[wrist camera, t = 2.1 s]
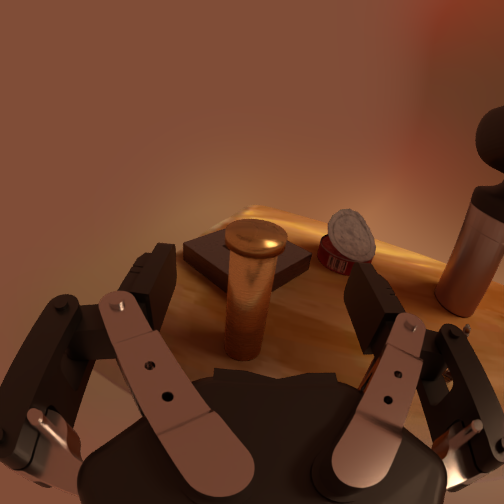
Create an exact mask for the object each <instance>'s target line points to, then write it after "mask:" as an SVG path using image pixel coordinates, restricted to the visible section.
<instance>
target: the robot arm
mask: <svg viewBox="0 0 504 504" xmlns="http://www.w3.org/2000/svg"><path fill="white" fill-rule="evenodd" d="M475 141H476V148H477V151H478V154H479V156H480V158H481V159H482V160H483V161H484V162H485V163H486V164H488V165H489V166H491V167H492V168H494V169H496V170H498V171H500V172H502V173H504V106H502V107H498V108H495V109H492V110H491V111H489V112H488V113H487V114H486V115H485V116H484V117H483V118H482V120H481V121H480V123H479V125H478V128H477V132H476V140H475ZM503 255H504V180H503V182H502V183H500V184H498V185H495V186H478V187H476V188H475V190H474V192H473V194H472V198H471V202H470V205H469V208H468V210H467V213H466V216H465V220H464V222H463V225H462V228H461V231H460V233H459V236H458V239H457V241H456V244H455V246H454V249H453V251H452V254H451V256H450V258H449V261H448V263H447V265H446V267H445V270H444V272H443V274H442V276H441V278H440V280H439V282H438V284H437V286H436V289H435V295H436V298H437V299H438V301H439V302H440V303H441V304H442V305H443V306H444V307H445V308H446V309H447V310H449V311H450V312H452V313H454V314H456V315H459V316H462V317H469V316H471V315H473V313H474V311H475V310H476V308H477V306H478V305H479V303H480V301H481V299H482V298H483V296H484V294H485V292H486V290H487V289H488V287H489V285H490V283H491V281H492V279H493V277H494V275H495V273H496V271H497V269H498V266H499V264H500V262H501V259H502V258H503ZM176 278H177V272H176V248H175V244H167V243H157V245H156V246H155V248H154V250H153V251H152V253H144V254H143V255H142V256H140V257H139V258H137V260H136V261H135V263H134V264H133V267H132V268H131V269H130V271H129V273H128V274H127V276H126V277H125V279H124V280H123V282H122V284H121V285H120V287H119V289H118V290H117V291H114V292H110V293H108V294H106V295H105V296H103V297H102V299H101V300H100V302H99V304H95V305H82V306H80V305H79V302H78V300H77V298H76V297H75V296H73V295H69V294H65V295H59V296H57V297H55V298H53V299H52V300H51V301H50V302H49V303H48V304H47V306H46V307H45V309H44V310H43V312H42V313H41V315H40V316H39V318H38V320H37V321H36V323H35V324H34V326H33V327H32V329H31V331H30V333H29V334H28V336H27V337H26V339H25V341H24V343H23V344H22V346H21V348H20V350H19V351H18V353H17V355H16V357H15V359H14V360H13V362H12V364H11V366H10V368H9V370H8V372H7V374H6V376H5V378H4V380H3V382H2V384H1V386H0V461H1V462H2V463H4V465H5V466H7V467H8V468H9V469H11V470H12V471H14V472H16V473H17V474H19V475H21V476H22V477H24V478H26V479H27V480H30V481H33V482H34V483H36V484H38V485H40V486H42V487H46V488H50V487H54V488H56V489H59V490H61V491H64V492H66V493H69V494H71V495H74V496H77V497H79V498H80V501H81V504H443V502H444V496H445V492H446V491H449V492H456V491H459V490H461V489H462V488H464V487H466V486H468V485H470V484H472V483H474V482H475V481H477V480H479V479H481V478H482V477H484V476H486V475H487V474H489V473H490V472H492V471H494V470H495V469H497V468H498V467H500V466H501V465H503V464H504V413H503V410H502V408H501V406H500V403H499V401H498V399H497V396H496V394H495V392H494V390H493V388H492V385H491V383H490V381H489V379H488V377H487V375H486V373H485V371H484V369H483V367H482V365H481V363H480V361H479V359H478V358H477V356H476V354H475V352H474V350H473V348H472V347H471V345H470V343H469V341H468V339H467V338H466V336H465V334H464V333H463V332H462V330H461V329H459V328H458V327H457V326H455V325H452V324H444V325H443V326H442V327H441V329H440V330H439V332H435V331H431V330H427V329H426V328H425V325H424V323H423V322H422V320H421V319H419V318H418V317H417V316H415V315H413V314H410V313H406V312H405V310H404V308H403V306H402V305H401V303H400V301H399V300H398V298H397V296H395V293H394V291H393V290H392V288H391V286H390V285H389V283H388V281H387V280H385V279H384V278H383V277H382V276H381V275H379V274H378V273H377V272H376V270H375V269H374V267H373V265H372V264H371V263H362V262H355V263H354V264H353V267H352V270H351V273H350V276H349V279H348V282H347V284H346V287H345V291H344V302H345V305H346V308H347V310H348V313H349V316H350V318H351V321H352V324H353V327H354V329H355V332H356V335H357V338H358V340H359V343H360V346H361V349H362V352H363V355H364V354H374V359H373V360H372V362H371V364H370V366H369V368H368V370H367V372H366V374H365V376H364V378H363V380H362V382H361V383H360V385H359V387H358V389H356V388H354V387H352V386H350V385H348V384H345V383H341V382H337V378H336V374H335V373H306V374H301V375H296V376H291V377H286V378H281V379H275V378H271V377H267V376H263V375H259V374H255V373H252V372H248V371H242V370H230V369H219V368H214V375H213V377H207V378H202V379H199V380H196V381H193V382H191V381H190V380H189V379H188V377H187V376H186V374H185V373H184V371H183V370H182V368H181V367H180V365H179V364H178V362H177V360H176V359H175V357H174V356H173V354H172V353H171V351H170V349H169V348H168V346H167V345H166V343H165V341H164V340H163V338H162V336H161V335H160V333H159V332H160V329H161V326H162V323H163V320H164V317H165V314H166V311H167V309H168V306H169V303H170V300H171V297H172V295H173V292H174V289H175V286H176ZM114 358H115V359H116V361H117V363H118V366H119V368H120V370H121V373H122V375H123V377H124V380H125V382H126V384H127V386H128V388H129V390H130V393H131V395H132V397H133V399H134V401H135V403H136V405H137V407H138V410H139V411H140V413H141V415H142V418H140V419H139V420H138V421H137V422H135V423H134V424H133V425H131V426H130V427H128V428H127V429H125V430H124V431H123V432H121V433H120V434H118V435H117V436H116V437H114V438H113V439H111V440H110V441H109V442H107V443H106V444H105V445H103V446H101V447H100V448H98V449H97V450H95V451H94V452H92V453H91V454H90V455H89V456H88V457H87V458H86V459H85V460H84V462H83V460H82V458H81V453H80V450H81V442H80V438H79V436H78V435H77V433H76V432H75V431H74V429H73V427H74V423H75V420H76V417H77V413H78V410H79V407H80V404H81V401H82V398H83V395H84V392H85V389H86V386H87V383H88V380H89V377H90V375H91V372H92V369H93V367H94V364H95V361H96V360H98V359H114ZM447 368H448V369H449V371H450V373H451V376H452V378H453V387H452V389H451V391H450V392H449V390H448V387H447V385H446V382H445V380H444V378H443V375H442V374H443V373H444V372H445V371H446V369H447ZM416 389H417V392H418V395H419V398H420V401H421V404H422V407H423V411H424V414H425V417H426V420H427V424H428V427H429V431H430V434H431V438H432V442H433V445H432V448H431V449H430V448H429V447H428V446H427V445H425V444H424V443H423V442H422V441H420V440H419V439H418V438H417V437H415V436H414V435H413V434H412V433H410V432H409V431H408V430H407V429H406V428H404V427H403V425H404V423H405V420H406V417H407V414H408V411H409V408H410V406H411V402H412V399H413V396H414V393H415V390H416Z"/></svg>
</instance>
